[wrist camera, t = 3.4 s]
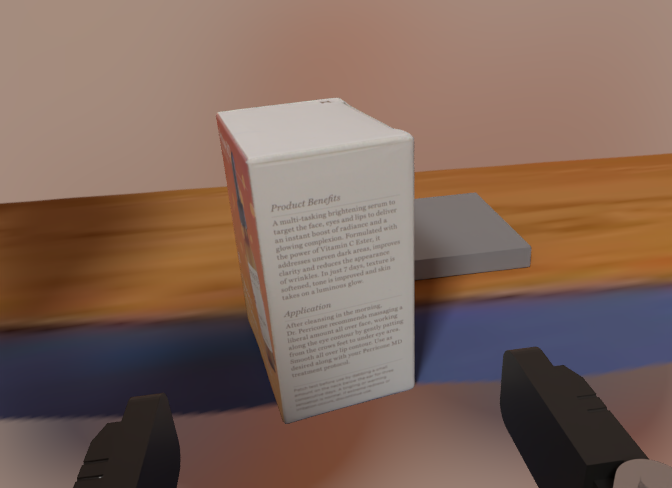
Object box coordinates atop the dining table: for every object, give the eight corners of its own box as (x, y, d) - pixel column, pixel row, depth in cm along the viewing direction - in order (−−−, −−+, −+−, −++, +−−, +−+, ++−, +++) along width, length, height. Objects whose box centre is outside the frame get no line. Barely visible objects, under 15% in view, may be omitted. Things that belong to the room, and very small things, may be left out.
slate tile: (277, 296, 30) (274, 276, 29) (275, 230, 38) (273, 214, 37) (529, 266, 31) (531, 247, 30) (475, 208, 39) (475, 192, 38)
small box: (247, 321, 28) (212, 110, 23) (353, 298, 29) (339, 94, 25) (282, 430, 21) (241, 157, 16) (419, 392, 22) (416, 130, 18)
